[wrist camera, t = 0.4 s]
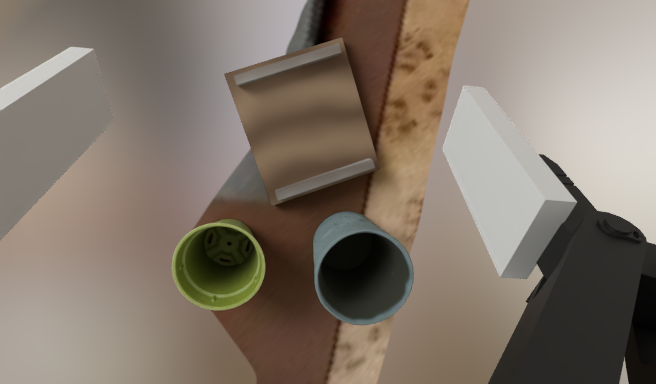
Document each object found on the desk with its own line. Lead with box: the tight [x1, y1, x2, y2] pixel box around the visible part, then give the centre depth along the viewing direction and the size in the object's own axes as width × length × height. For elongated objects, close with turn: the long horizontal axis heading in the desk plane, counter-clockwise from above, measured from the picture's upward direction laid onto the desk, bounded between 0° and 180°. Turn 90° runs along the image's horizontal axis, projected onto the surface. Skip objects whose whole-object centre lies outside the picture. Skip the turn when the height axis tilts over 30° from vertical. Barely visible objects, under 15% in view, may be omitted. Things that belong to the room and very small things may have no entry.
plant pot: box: [172, 219, 265, 310], centre depth 43 cm, size 9×9×9 cm
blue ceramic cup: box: [313, 211, 414, 325], centre depth 44 cm, size 10×10×12 cm
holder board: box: [225, 38, 380, 206], centre depth 44 cm, size 16×14×4 cm
